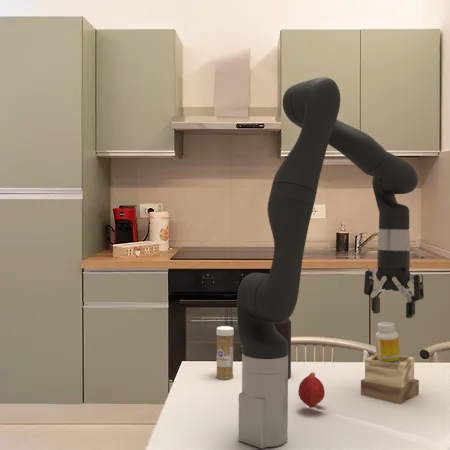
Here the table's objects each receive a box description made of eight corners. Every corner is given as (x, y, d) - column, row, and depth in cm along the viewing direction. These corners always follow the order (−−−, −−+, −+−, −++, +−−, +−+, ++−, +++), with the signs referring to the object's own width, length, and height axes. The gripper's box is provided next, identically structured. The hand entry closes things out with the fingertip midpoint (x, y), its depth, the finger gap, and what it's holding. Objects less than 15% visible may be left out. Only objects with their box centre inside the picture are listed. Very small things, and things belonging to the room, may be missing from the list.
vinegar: (276, 382, 151) (277, 305, 150) (260, 376, 156) (260, 302, 156) (296, 378, 155) (296, 303, 154) (279, 372, 160) (279, 299, 160)
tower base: (399, 406, 134) (399, 388, 134) (360, 396, 141) (360, 380, 141) (418, 396, 142) (418, 379, 142) (381, 387, 149) (381, 372, 148)
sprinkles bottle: (213, 379, 154) (213, 328, 153) (219, 374, 158) (220, 325, 158) (230, 381, 152) (230, 329, 152) (235, 376, 156) (236, 326, 156)
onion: (304, 413, 128) (304, 376, 128) (294, 404, 134) (294, 369, 134) (328, 410, 130) (329, 374, 130) (317, 402, 135) (318, 368, 135)
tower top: (402, 387, 135) (402, 365, 135) (364, 381, 140) (365, 359, 140) (414, 378, 142) (414, 357, 142) (378, 372, 148) (378, 352, 148)
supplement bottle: (372, 361, 143) (369, 323, 142) (389, 356, 145) (387, 319, 144) (387, 367, 138) (384, 328, 137) (405, 362, 140) (402, 323, 139)
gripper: (359, 247, 142) (358, 313, 143) (415, 250, 133) (414, 321, 133) (374, 246, 148) (373, 310, 148) (429, 249, 138) (428, 317, 139)
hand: (392, 315), depth 141 cm, fingers open, 8 cm apart
